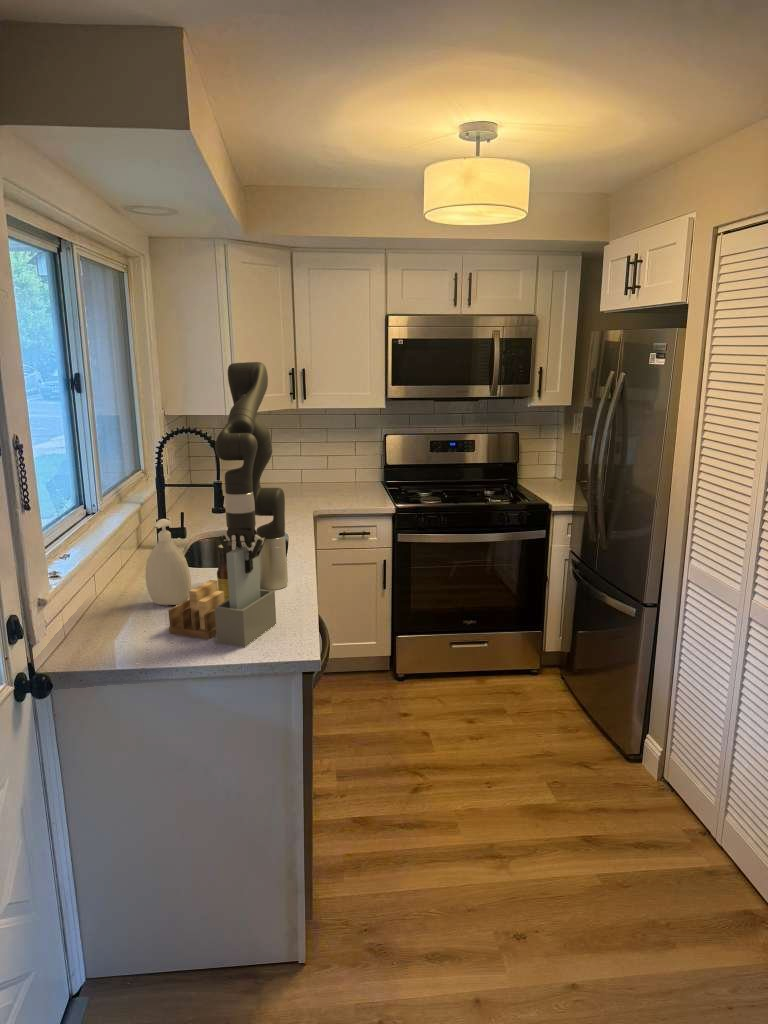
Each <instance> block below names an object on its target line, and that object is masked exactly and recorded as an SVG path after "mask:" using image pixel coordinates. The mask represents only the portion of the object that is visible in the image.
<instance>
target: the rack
mask: <svg viewBox="0 0 768 1024" xmlns="http://www.w3.org/2000/svg"><path fill="white" fill-rule="evenodd" d="M167 611H168V620H169V626H168V631H169V632H168V633H169V635H175V636H182V637H188V638H195V639H200V640H201V639H203V640H211V639H213V638H214V637H216V623H215V609H213V610H211V611H209V612H207V613H206V614H204V623H205V630H204V629H200V619H199V609H198V610H196V611H194V612H193V613H192V621H193V625H192V621H191V608H190V598H188V599H187V600H186V601H184V602H182V603H180V604H179V605H177V606H172V607H171V608H170V609H168V610H167Z"/></svg>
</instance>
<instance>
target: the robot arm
mask: <svg viewBox="0 0 768 1024" xmlns="http://www.w3.org/2000/svg"><path fill="white" fill-rule="evenodd" d="M227 382H228V387H229V391H230V395H231V397H232V402H233V406H232V407H231V409H230V411H229V414H228V418H227V423H226V424H225V426H224V427H223V428H222V430H221V431H220V432H219V434H218V436H217V437H216V440H215V442H214V443H215V444H214V450H215V454H216V455H217V457H218V458H219V459H220V460H222V461H228V462H229V461H231V462H232V461H243V463H242V465H241V466H240V467H238V468H237V467H236V468H233V469H229V470H227V471H225V473H224V487H225V489H224V490H225V491H224V492H225V499H224V500H225V501H224V502H225V503H224V504H225V505H224V506H225V518H226V522H225V523H226V527H227V530H226V533H224V534H222V535H220V536H218V541H219V542H220V545H222V546H223V548H224V550H225V552H226V553H228V552H230V551H232V550H235V549H237V548H239V547H242V550H243V552H244V556H245V573H250V572H251V571H252V570H253V558H255V557H257V556H258V558H259V577H260V589H262V590H271V591H275V590H280V589H283V588H286V587H287V586H288V583H289V580H288V579H289V576H288V557H287V551H286V549H287V548H286V547H287V546H286V519H285V518H286V517H285V516H286V509H285V508H286V500H285V499H286V496H285V493H284V490H283V489H282V488H281V487H262V486H261V478H262V474H263V472H264V471H265V469H266V467H267V466H268V463H270V460H271V457H272V455H273V445H272V439H271V437H272V436H271V434H270V433H271V432H270V430H269V428H268V426H267V425H266V424H265V423H264V422H263V421H262V420H261V418H260V417H258V415H257V414H258V411H259V409H260V406H261V404H262V402H263V399H264V397H265V395H266V392H267V390H268V386H269V385H268V383H269V376H268V371H267V368H266V365H265V363H263V362H259V361H251V362H247V361H246V362H234V363H233V362H232V363H230V364H229V365H228V368H227ZM256 516H259V517H273V518H272V520H271V521H270V522H268V523H265V524H263V525H260V526H257V525H256V524H257V523H256ZM256 526H257V528H256ZM253 542H255V547H254V549H253Z"/></svg>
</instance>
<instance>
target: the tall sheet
mask: <svg viewBox="0 0 768 1024" xmlns="http://www.w3.org/2000/svg"><path fill="white" fill-rule="evenodd" d="M254 547H255V541H253V549H254ZM226 556H227V572H228V588H229V604H230V608H233V609H241V610H242V609H244V608H245V607H247V606H248V605H250V604H252V603H253V602H255V601H256V600H258V599H260V598H261V596H260V589H261V588H260V577H259V558H258V556H257V557H255V558H253V570H252V571H251V572H250V573H245V556H244V552H243V550H242V547H239V548H237V549H235V550H232V551H230V552H228V553H226Z"/></svg>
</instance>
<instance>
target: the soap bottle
mask: <svg viewBox="0 0 768 1024" xmlns="http://www.w3.org/2000/svg"><path fill="white" fill-rule="evenodd" d="M172 525H173V524H172V522H171V520H169V519H168V518H161V519H158V520H157V521H156V522H155V524H154V526H153V528H154V529H160V528H161V530H160V531H159V533H157V538H158V539H157V540H158V541H157V544H156V545H155V546H154V547H153V549H152V550H151V551H150V553H149V556H148V558H147V559H146V565H145V583H146V584H145V585H146V588H147V592H148V595H149V597H150V598H151V600H152V602H153V603H155V604H156V605H161V606H168V605H179V604H180V603H182V602H184V601H186V600H188V599H189V598H190V595H189V591H190V590H192V580H191V579H192V577H191V573H190V572H191V571H190V568H189V565H188V561H187V559H186V557H185V555H184V554H183V552H182V551H181V550H180V548H179V547H178V546H177V545H176V544H175V543H174V542H173V540H172V533H171V532H170V531H169V530H167V528H166V527H170V526H172Z"/></svg>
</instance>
